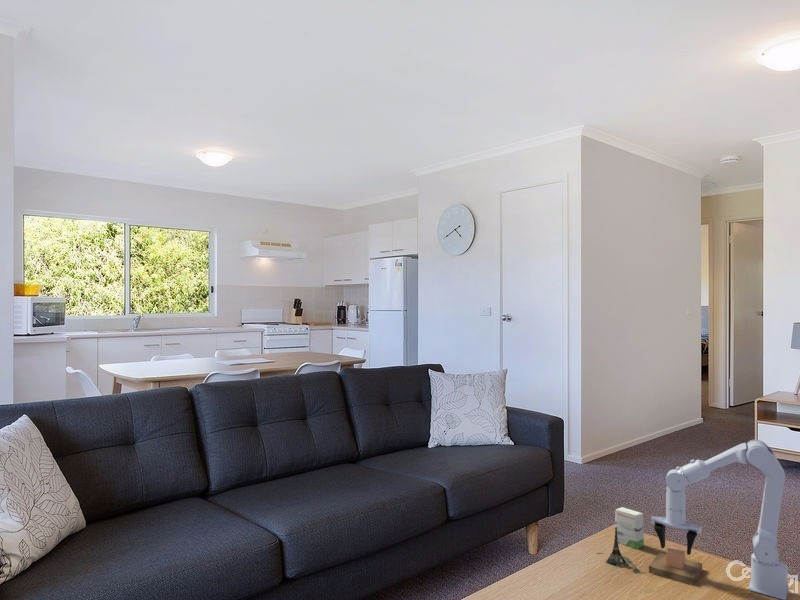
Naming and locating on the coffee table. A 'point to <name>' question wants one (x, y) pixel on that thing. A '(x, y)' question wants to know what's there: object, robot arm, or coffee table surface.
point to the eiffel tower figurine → (619, 557)
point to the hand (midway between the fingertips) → (675, 550)
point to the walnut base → (676, 569)
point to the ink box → (629, 527)
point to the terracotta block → (675, 557)
